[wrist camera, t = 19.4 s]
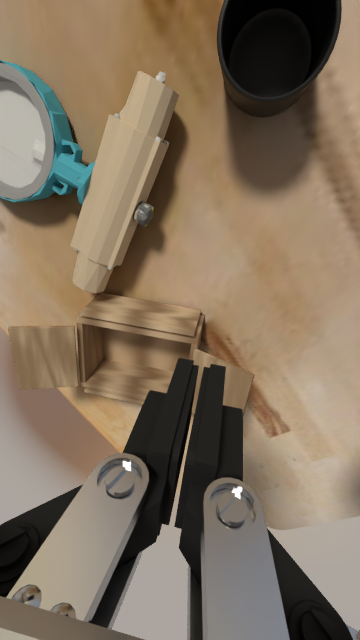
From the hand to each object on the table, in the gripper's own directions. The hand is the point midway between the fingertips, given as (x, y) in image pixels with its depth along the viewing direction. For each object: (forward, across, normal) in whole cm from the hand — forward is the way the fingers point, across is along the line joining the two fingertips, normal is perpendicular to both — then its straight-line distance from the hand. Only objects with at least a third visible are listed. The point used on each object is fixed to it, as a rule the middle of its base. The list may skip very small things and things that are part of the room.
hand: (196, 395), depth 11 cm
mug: (+33, 0, -18) cm, 38 cm away
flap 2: (+25, +2, +19) cm, 31 cm away
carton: (+33, +10, +19) cm, 39 cm away
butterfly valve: (+34, +24, -6) cm, 41 cm away
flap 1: (+25, +18, +19) cm, 36 cm away
